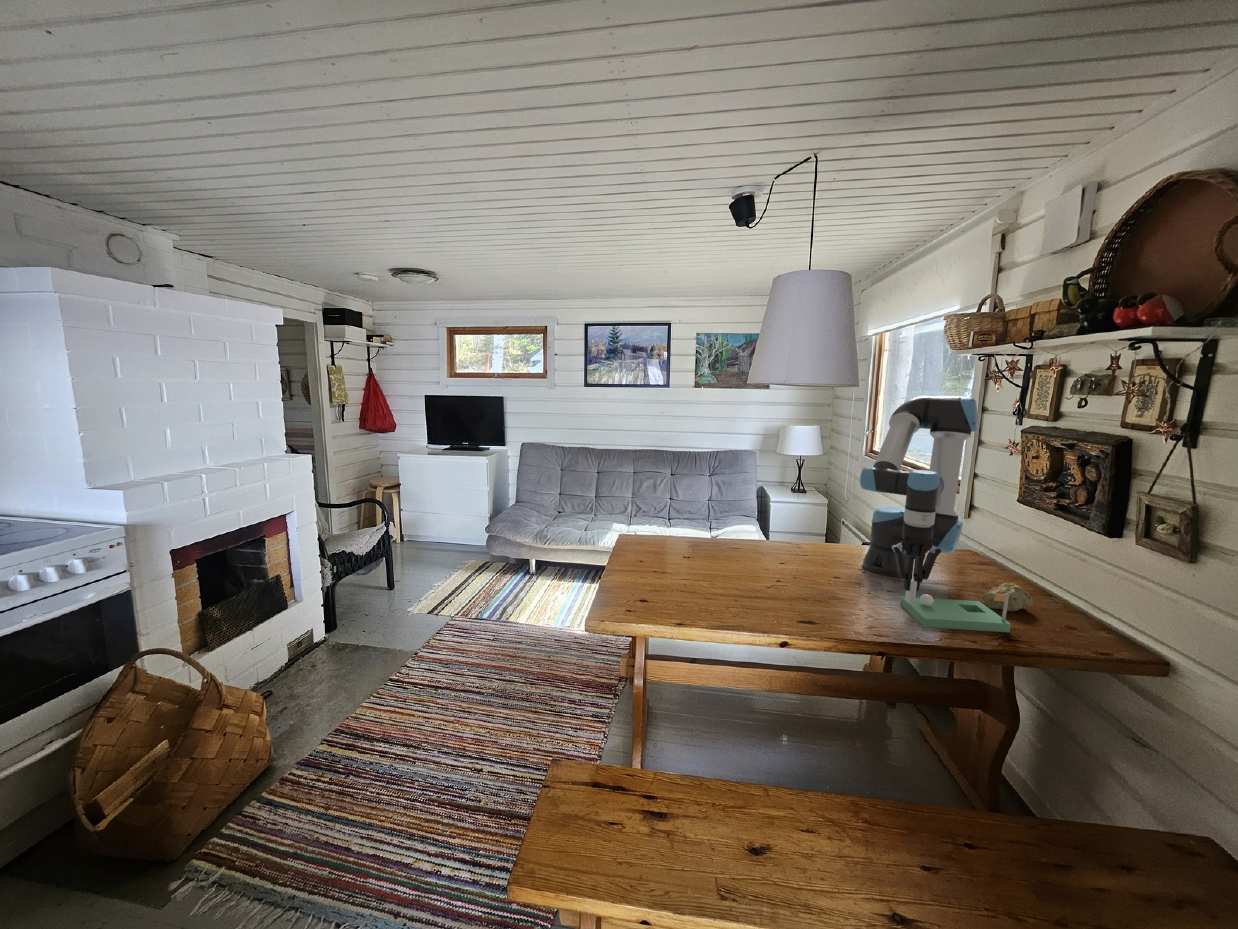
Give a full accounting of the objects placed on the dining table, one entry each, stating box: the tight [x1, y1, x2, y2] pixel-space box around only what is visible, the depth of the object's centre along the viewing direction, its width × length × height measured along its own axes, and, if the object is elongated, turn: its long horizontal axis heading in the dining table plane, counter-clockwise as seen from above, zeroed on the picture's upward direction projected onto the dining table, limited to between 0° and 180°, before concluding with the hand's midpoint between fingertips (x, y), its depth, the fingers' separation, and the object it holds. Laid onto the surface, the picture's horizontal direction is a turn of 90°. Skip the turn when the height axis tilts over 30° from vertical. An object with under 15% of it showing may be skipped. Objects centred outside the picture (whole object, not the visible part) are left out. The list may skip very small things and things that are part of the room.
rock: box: [982, 581, 1035, 612], centre depth 142 cm, size 12×9×10 cm
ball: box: [919, 593, 935, 606], centre depth 137 cm, size 4×4×4 cm
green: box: [900, 593, 1012, 633], centre depth 134 cm, size 14×22×10 cm, turn 83°
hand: (909, 600), depth 138 cm, fingers closed
